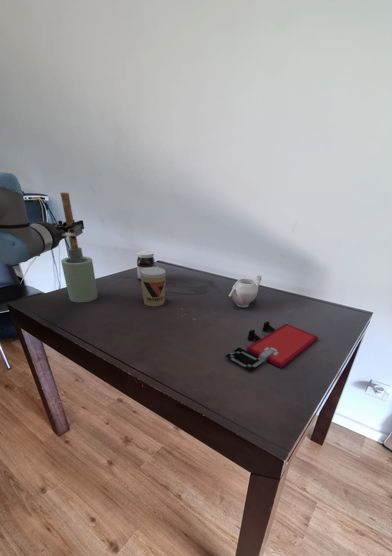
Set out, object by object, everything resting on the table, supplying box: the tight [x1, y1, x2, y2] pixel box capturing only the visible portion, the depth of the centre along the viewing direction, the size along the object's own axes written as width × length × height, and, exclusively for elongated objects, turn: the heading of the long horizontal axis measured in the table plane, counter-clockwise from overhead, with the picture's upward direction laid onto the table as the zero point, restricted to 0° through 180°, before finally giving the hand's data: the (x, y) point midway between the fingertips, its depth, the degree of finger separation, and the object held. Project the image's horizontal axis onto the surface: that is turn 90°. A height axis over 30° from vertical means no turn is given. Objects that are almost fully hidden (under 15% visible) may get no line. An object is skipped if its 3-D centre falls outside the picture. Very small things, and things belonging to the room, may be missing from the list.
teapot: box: [228, 275, 262, 308], centre depth 106 cm, size 10×20×9 cm, turn 138°
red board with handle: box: [225, 320, 319, 371], centre depth 82 cm, size 30×3×15 cm
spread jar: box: [136, 250, 161, 282], centre depth 124 cm, size 12×11×12 cm
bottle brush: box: [60, 192, 84, 263], centre depth 95 cm, size 4×4×24 cm
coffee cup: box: [140, 266, 167, 307], centre depth 103 cm, size 9×9×12 cm
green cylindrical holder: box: [60, 255, 99, 304], centre depth 104 cm, size 10×10×14 cm
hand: (78, 224), depth 99 cm, fingers closed on bottle brush, 2 cm apart
